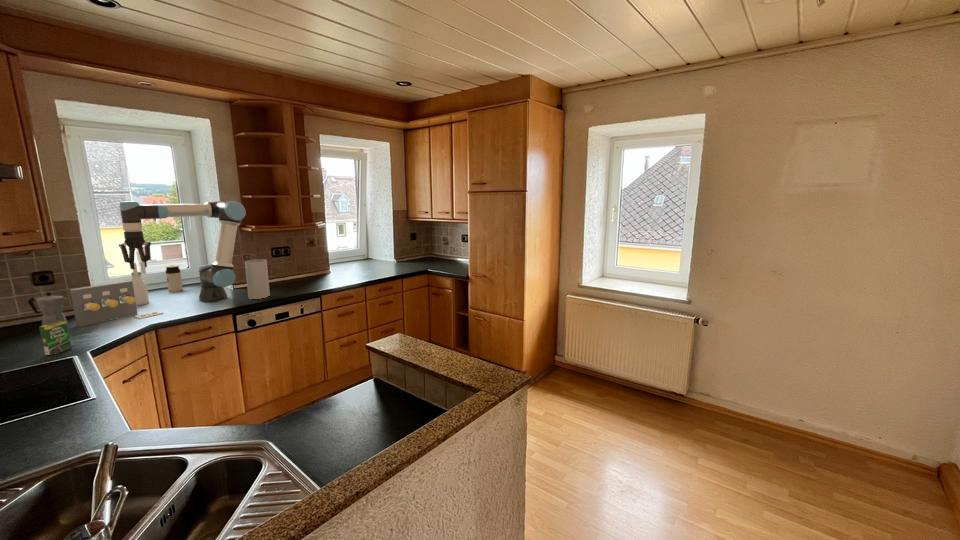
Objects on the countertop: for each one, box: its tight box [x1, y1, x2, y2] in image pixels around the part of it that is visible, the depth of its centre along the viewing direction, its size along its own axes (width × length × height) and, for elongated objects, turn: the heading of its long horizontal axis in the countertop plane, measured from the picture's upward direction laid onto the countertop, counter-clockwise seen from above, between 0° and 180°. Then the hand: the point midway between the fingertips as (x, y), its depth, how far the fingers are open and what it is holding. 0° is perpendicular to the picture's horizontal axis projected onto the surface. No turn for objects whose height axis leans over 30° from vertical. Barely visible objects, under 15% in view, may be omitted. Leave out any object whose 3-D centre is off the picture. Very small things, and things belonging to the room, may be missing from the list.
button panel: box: [69, 280, 138, 328], centre depth 205 cm, size 4×24×19 cm, turn 155°
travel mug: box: [165, 264, 184, 293], centre depth 268 cm, size 8×8×18 cm
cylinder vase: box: [244, 258, 271, 300], centre depth 254 cm, size 12×12×25 cm
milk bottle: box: [131, 271, 150, 306], centre depth 236 cm, size 8×8×20 cm
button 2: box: [119, 295, 136, 304], centre depth 210 cm, size 7×4×4 cm, turn 65°
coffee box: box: [38, 321, 73, 356], centre depth 163 cm, size 8×3×13 cm, turn 171°
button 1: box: [82, 301, 100, 311], centre depth 197 cm, size 7×4×4 cm, turn 65°
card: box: [133, 311, 164, 320], centre depth 215 cm, size 6×11×1 cm, turn 155°
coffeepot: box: [27, 291, 69, 326], centre depth 194 cm, size 15×9×18 cm, turn 104°
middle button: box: [102, 298, 118, 308], centre depth 203 cm, size 7×4×4 cm, turn 65°
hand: (139, 274), depth 207 cm, fingers open, 3 cm apart
